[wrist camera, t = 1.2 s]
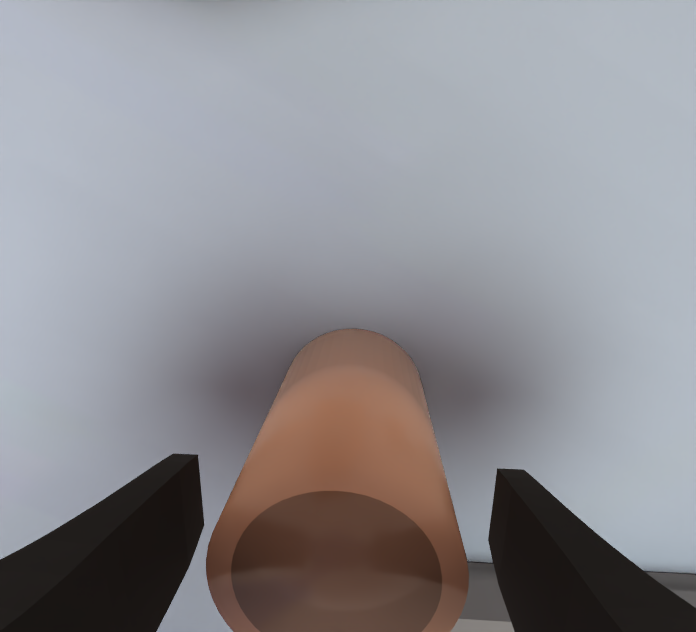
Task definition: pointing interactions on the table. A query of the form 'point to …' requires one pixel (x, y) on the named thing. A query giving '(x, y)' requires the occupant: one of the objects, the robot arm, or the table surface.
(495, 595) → the tray
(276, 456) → the cup
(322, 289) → the table surface
